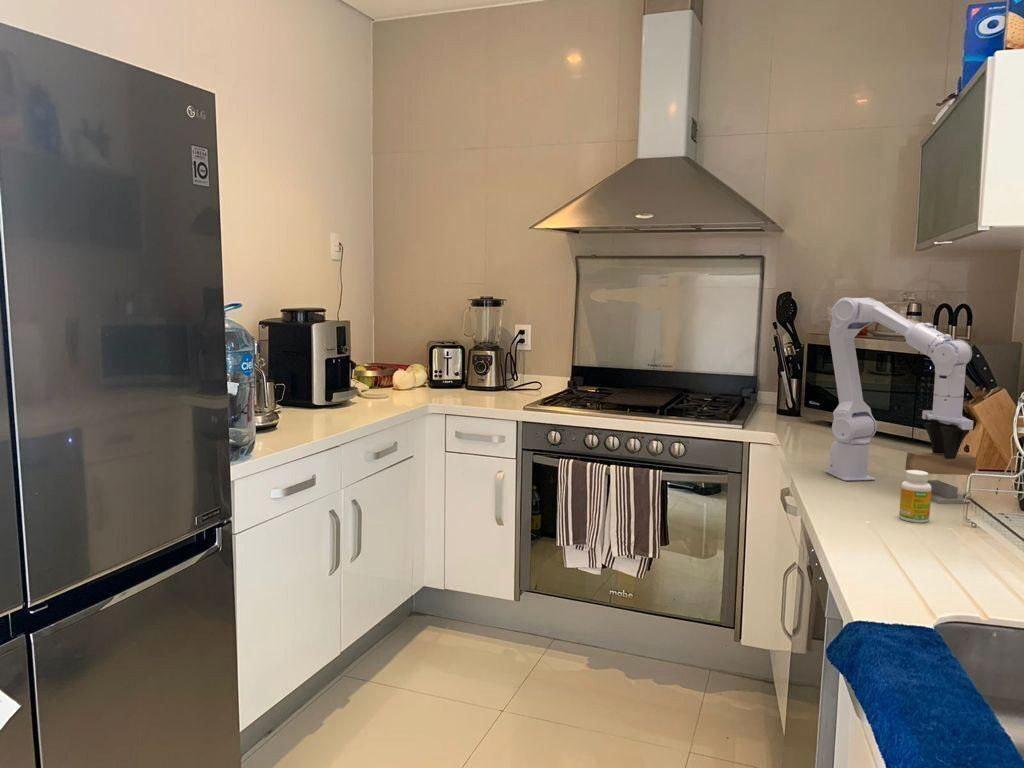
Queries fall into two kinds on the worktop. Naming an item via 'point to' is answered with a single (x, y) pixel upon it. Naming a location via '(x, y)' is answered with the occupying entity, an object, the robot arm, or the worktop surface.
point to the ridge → (944, 493)
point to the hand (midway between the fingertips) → (943, 456)
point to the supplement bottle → (915, 497)
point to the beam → (941, 463)
